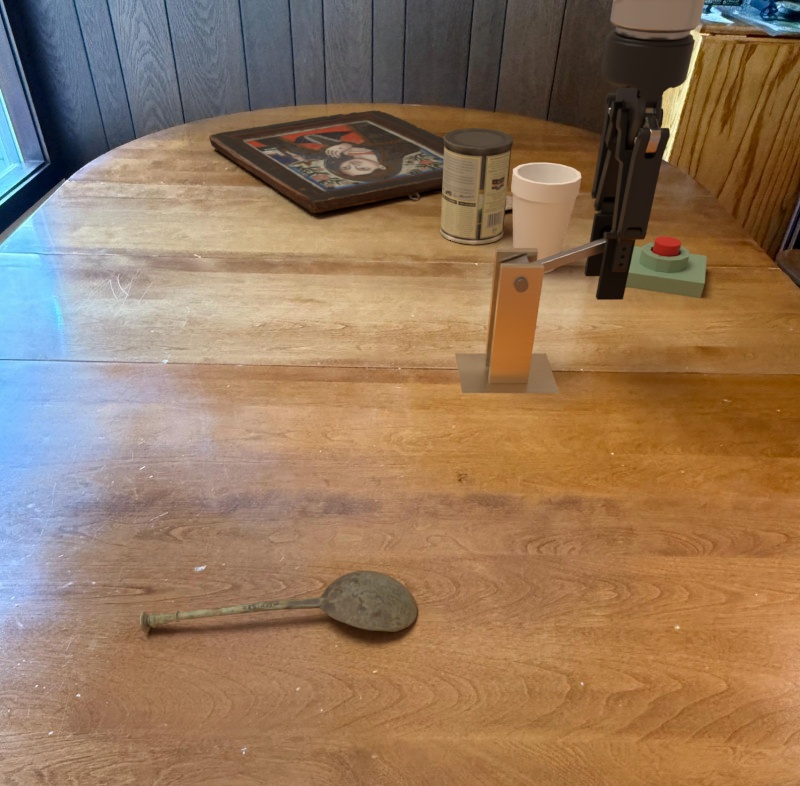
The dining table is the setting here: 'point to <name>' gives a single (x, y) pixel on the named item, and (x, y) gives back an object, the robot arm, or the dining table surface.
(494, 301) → the bracket
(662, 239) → the button
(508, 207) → the flatbread
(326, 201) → the religious icon
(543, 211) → the foam cup
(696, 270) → the button box
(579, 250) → the lever
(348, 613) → the soupspoon
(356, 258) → the dining table surface
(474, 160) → the coffee can
